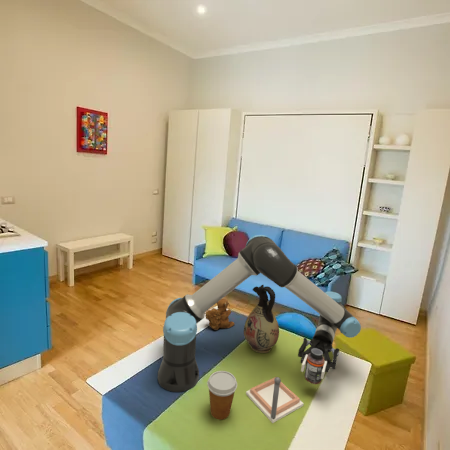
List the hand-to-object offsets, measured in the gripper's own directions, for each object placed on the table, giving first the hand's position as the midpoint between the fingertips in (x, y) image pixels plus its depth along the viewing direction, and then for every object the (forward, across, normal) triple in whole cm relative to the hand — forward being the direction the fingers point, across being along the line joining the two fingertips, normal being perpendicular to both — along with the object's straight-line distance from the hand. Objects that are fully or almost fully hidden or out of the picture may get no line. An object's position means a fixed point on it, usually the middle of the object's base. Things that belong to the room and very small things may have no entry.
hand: (312, 371), depth 104 cm
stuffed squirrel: (-27, +49, -13) cm, 57 cm away
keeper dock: (+5, +10, -12) cm, 17 cm away
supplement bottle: (-5, 0, -7) cm, 9 cm away
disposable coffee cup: (+19, +24, -13) cm, 33 cm away
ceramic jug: (-20, +25, -12) cm, 34 cm away
